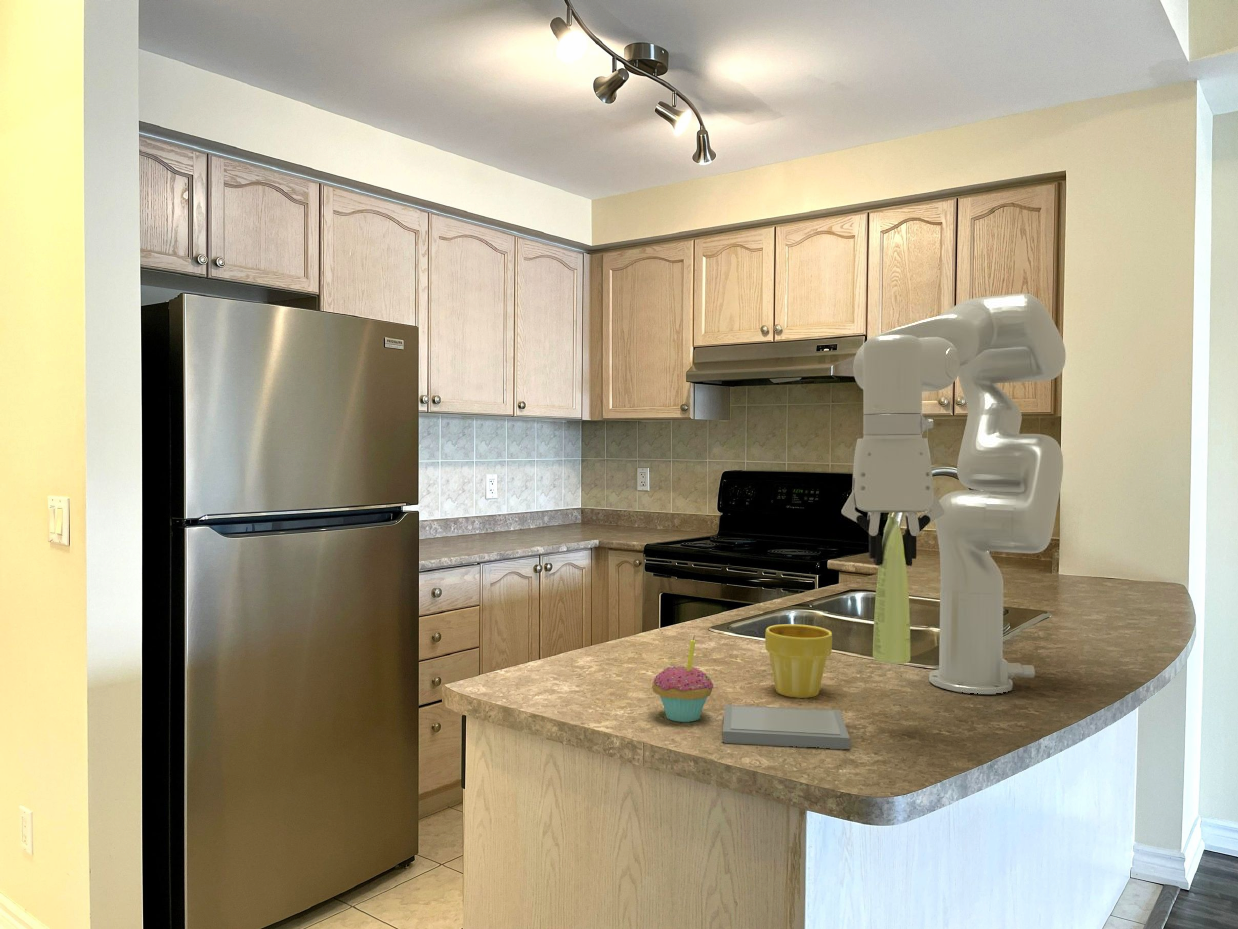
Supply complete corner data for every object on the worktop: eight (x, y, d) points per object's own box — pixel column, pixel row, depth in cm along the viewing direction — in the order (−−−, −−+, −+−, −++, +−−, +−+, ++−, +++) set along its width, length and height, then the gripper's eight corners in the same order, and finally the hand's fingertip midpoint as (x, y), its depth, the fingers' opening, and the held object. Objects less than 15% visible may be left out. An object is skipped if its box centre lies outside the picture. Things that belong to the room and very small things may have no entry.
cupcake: (724, 717, 124) (725, 632, 124) (687, 730, 118) (688, 642, 118) (676, 705, 130) (677, 624, 130) (639, 717, 124) (640, 633, 123)
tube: (922, 662, 117) (922, 517, 117) (897, 668, 115) (897, 520, 114) (888, 653, 122) (888, 514, 121) (863, 659, 119) (863, 516, 119)
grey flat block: (839, 720, 123) (839, 709, 123) (849, 749, 111) (849, 737, 111) (725, 715, 125) (725, 704, 125) (722, 742, 113) (722, 730, 113)
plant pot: (845, 696, 135) (846, 633, 135) (794, 705, 130) (795, 639, 130) (800, 680, 144) (801, 621, 144) (751, 688, 139) (751, 627, 139)
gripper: (950, 427, 120) (949, 560, 120) (827, 428, 122) (827, 559, 123) (963, 427, 112) (962, 569, 113) (832, 428, 115) (832, 568, 115)
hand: (892, 562), depth 118 cm, fingers closed on tube, 3 cm apart
